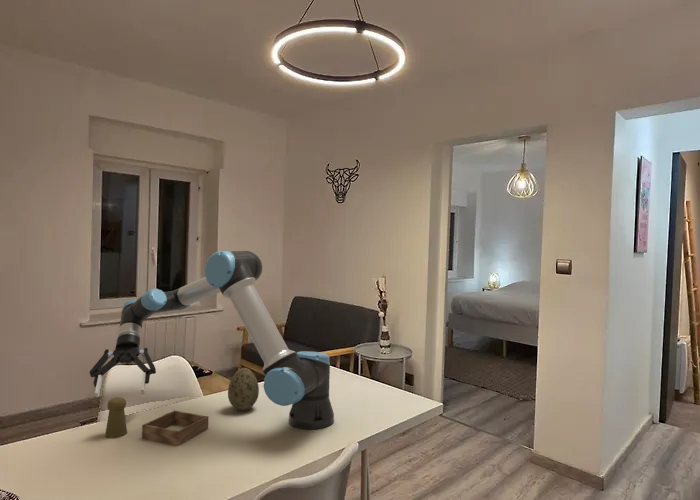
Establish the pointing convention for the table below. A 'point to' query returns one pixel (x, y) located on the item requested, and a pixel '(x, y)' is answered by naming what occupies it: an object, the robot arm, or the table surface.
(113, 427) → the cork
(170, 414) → the walnut box
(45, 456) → the table surface
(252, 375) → the decorative egg
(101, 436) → the table surface
